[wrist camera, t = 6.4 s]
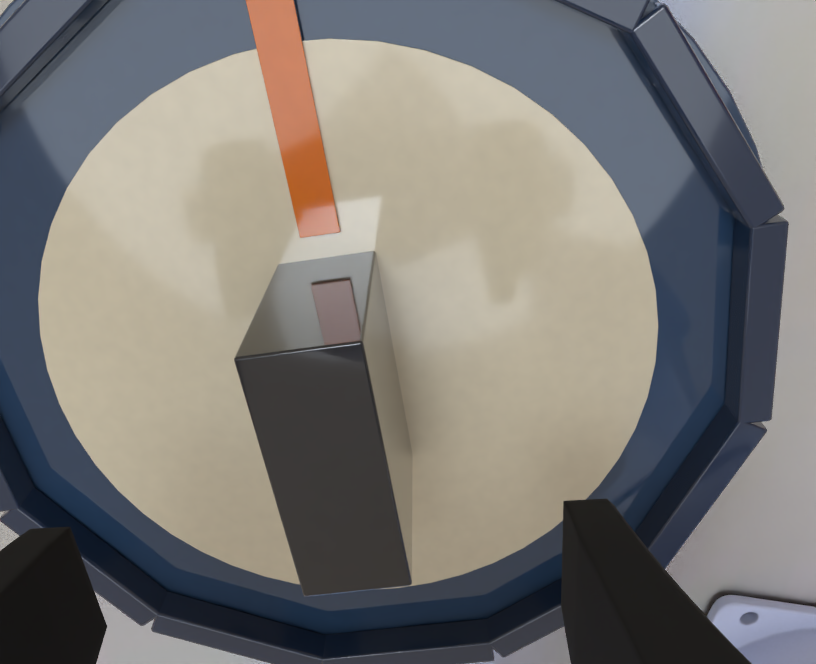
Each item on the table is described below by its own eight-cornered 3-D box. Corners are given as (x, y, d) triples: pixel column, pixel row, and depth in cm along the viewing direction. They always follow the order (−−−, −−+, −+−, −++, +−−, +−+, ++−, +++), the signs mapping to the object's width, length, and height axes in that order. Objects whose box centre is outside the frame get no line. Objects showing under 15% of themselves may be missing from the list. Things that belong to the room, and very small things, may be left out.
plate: (741, 595, 19) (833, 772, 15) (103, 659, 21) (22, 838, 17) (802, -218, 12) (1030, -329, 7) (-235, -30, 13) (-560, -30, 9)
